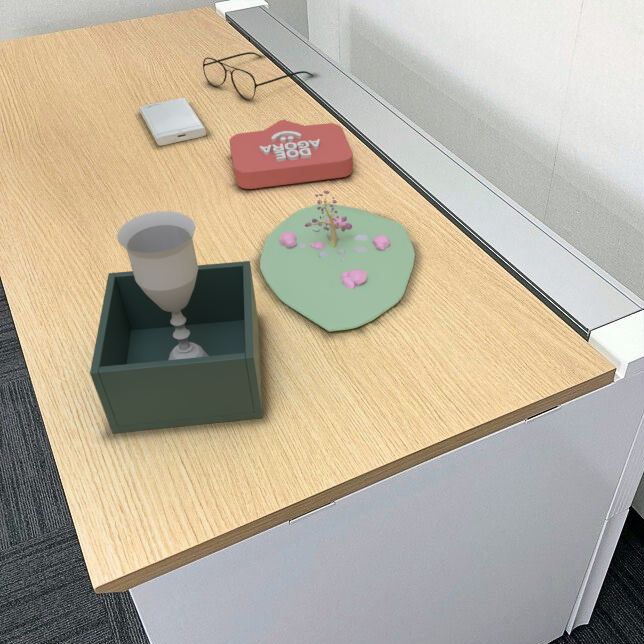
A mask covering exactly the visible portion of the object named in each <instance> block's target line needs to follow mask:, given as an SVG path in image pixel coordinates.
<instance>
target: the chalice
mask: <svg viewBox="0 0 644 644" xmlns="http://www.w3.org/2000/svg"><path fill="white" fill-rule="evenodd" d="M195 223H196V222H195V220H193V219H192V218H191V217H190V216H188V215H187V214H184V213H181V212H178V211H177V212H176V211H172V210H171V211H169V210H163V211H161V210H160V211H159V210H158V211H151V212H148V213H144V214H141V215H138V216H136V217H133V218H131V219H130V220H128V221H127V222H125V223H124V224H123V225H122V226H121V227H120V228H119V230H118V231H117V235H116V237H117V242H118V243H119V245H121V246H122V247H123V248H124V249H125V250H126V252H127V255H128V259H129V263H130V267H131V271H133V274H134V277H135V281H136V282H137V284H138V285H139V286H140V287H141V289H142V290H143V291H144V292H145V294H146V295H147V296H148V297H149V298H150V299H151V300H153V301H154V302H155V303H156V304H157V305H158V306H159V307H160V308H161V309H162V310H164V311H168V312H171V313H172V319H171V321H170V323H171V324H172V325H174V327H175V331H174V333H173V337H174V338H176V339H177V340H178V341H179V344H178V345H177V346H176V347H175V348H174V349H173V350H172V351H171V353H170V356H169V359H168V360H176V359H186V358H196V357H207V356H209V355H208V354H207V353H206V352H205V351H204V350H203V349H202V348H201V346H199V345H197V344H195V343H192V342H188V336H189V335H190V331H189V330H188V329H186V328H185V327H184V324H185V322H186V318H185V317H184V316H183V315H182V313H181V309H183V308H184V307H186V305H187V304H188V302H189V299H190V297H191V294H192V292H193V289H194V286H195V282H196V277H197V272H198V265H199V264H198V259H197V255H196V249H195V246H194V245H195V244H194V240H193V237H194V235H195V231H196V227H197V226H196V224H195Z"/></svg>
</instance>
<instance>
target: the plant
mask: <svg viewBox="0 0 644 644" xmlns="http://www.w3.org/2000/svg"><path fill="white" fill-rule="evenodd" d="M323 193H324V194H325V195H329V194H330V192H329V191H328V190H323ZM323 193H319V194H314V197H316V198H319V199H318V200H317V201H316V203H317V204H314V205H310V206H307V207H303V208H301V209H298V210H296V211H295V212H293V213H292V214H290V215H289V216H288V217H287V218H285V219H284V220H283V221H282V222H281V223H279V225H277V226H276V227H275V228H274V229H273V230H272V231H271V232H270V233H269V234H268V235H267V237H266V239H265V242H264V245H263V248H262V252H261V255H260V259H259V268H260V272H261V274H262V276H263V278H264V281H265V282H266V284H267V285H268V287H269V288H270V290H271V291H272V293H274V294H275V295H276V297H277V298H278V299H279V300H280V301H281V302H282V303H283V304H285V306H287V307H289V308H291V309H293V310H294V311H296V312H297V313H299V314H300V315H301V316H303V317H305V318H306V319H308V320H310V321H311V322H313V323H315V324H316V325H318V326H319V327H321V328H322V329H324V330H326V331H327V332H330V333H331V332H339V331H345V330H346V331H347V330H351V329H356V328H360V327H362V326H365V325H366V324H369V323H371V322H372V321H374V320H375V319H377V318H378V317H380V316H381V315H383V314H384V313H386V312H387V311H389V310H390V309H391V308H392V307H394V306H396V305H397V304H398V303H399V302H400V301H401V300H402V298H403V297H404V295H405V293H406V289H407V286H408V283H409V280H410V278H411V275H412V272H413V269H414V265H415V258H416V253H415V249H414V246H413V243H412V241H411V238H410V236H409V234H408V231H407V230H406V228H405V227H404V225H402V224H401V223H400V222H399V221H397V220H393V219H390V218H388V217H384V216H382V215H379V214H376V213H373V212H370V211H367V210H365V209H361V208H358V207H352V206H347V205H340V204H337V203H338V201H337V200H335V199H336V198H335V197H334V196H333V197H331V198H332V201H329V202H328V203H327V196H325V197H324V194H323ZM323 197H324V201H322V198H323Z"/></svg>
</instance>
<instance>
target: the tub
mask: <svg viewBox="0 0 644 644" xmlns="http://www.w3.org/2000/svg"><path fill="white" fill-rule="evenodd" d="M181 313H182V315H183V316H184V317H185V318H186V322H185V324H184V327H185V328H186V329H188V330H189V331H190V335H189V336H188V342H192V343H195V344H197V345H199V346H201V348H202V349H203V350H204V351H205V352H206V353H207V354H208V355H209V356H207V357H196V358H186V359H176V360H168V359H169V356H170V353H171V351H172V350H173V349H174V348H175V347H176V346H177V345H178V344H179V341H178V340H177V339H176V338H174V337H173V333H174V331H175V327H174V325H172V324H171V323H170V321H171V319H172V313H171V312H168V311H164V310H162V309H161V308H160V307H159V306H158V305H157V304H156V303H155V302H154V301H153V300H151V299H150V298H149V297H148V296H147V295H146V294H145V292H144V291H143V290H142V289H141V287H140V286H139V285H138V284H137V282H136V281H135V277H134V274H133V270H129V271H118V272H109V273H108V275H107V280H106V285H105V289H104V296H103V301H102V307H101V312H100V317H99V323H98V329H97V334H96V339H95V344H94V350H93V354H92V360H91V365H90V372H89V374H90V377H91V381H92V382H93V385H94V388H95V390H96V393H97V396H98V398H99V401H100V403H101V406H102V409H103V411H104V414H105V417H106V419H107V422H108V425H109V428H110V430H111V433H112V434H120V433H130V432H139V431H141V432H142V431H150V430H158V429H169V428H177V427H178V428H179V427H186V426H187V427H189V426H197V425H207V424H217V423H226V422H237V421H246V420H256V419H263V418H264V412H263V411H264V410H263V390H262V389H263V388H262V368H261V349H260V348H261V347H260V329H259V316H258V308H257V301H256V293H255V287H254V280H253V273H252V264H251V261H250V260H244V261H243V260H242V261H232V262H220V263H210V264H209V263H208V264H198V272H197V277H196V282H195V286H194V289H193V292H192V294H191V297H190V299H189V302H188V304H187V305H186V307H184V308H183V309H181Z"/></svg>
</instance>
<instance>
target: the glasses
mask: <svg viewBox="0 0 644 644" xmlns="http://www.w3.org/2000/svg"><path fill="white" fill-rule="evenodd" d="M245 55H254V56H256V57H260V58H262V55H260V54H258V53H256V52H254V51H248V52H242V53H238V54H233V55H231V56H227V57H224V58H220V59H216V58H213V57H205V58H204V59H203V61H202V69H203V74H204V77H205V79H206V81H207V82H208V84H209V85H210V86H212V87H215V88H217V87H220V86H222V85H224V84H225V82H226V80H227V76H228V75H227V74H228V72H229V73H230V79H231V80H230V81H231V83H232V86H233V88H234V89H235V91H236V93H237V94H238V95H239V96H240V97H241V98H242V99H244V100H245V101H251V100H252V99H254V97H255V95H256V91H257V88H258V87H260V86H263V85H267V84H270V83H273V82H276V81H279V80H282V79H286V78H289V77H291V76H295V75H300V74H306V75H309V76H312V77H314V74H313V73H311V72H308V71H306V70H301V71H296V72H292V73H288V74H285V75H282V76H279V77H276V78H273V79H269V80H267V81H264V82H260V83H257V82H256V79H255V77H254V75H253V74H252V73H251V72H249V71H248V70H244V69H242V68H241V69H240V68H238V67H234V66H231V65H228V64H226V63H224V62H223V61H227V60H230V59H233V58H238V57H241V56H242V57H243V56H245ZM207 59H208V60H212V61H210V62H206V60H207ZM205 62H206V63H205ZM217 63H218V64H219V65H220V66H221V67H222V68H223V71H224V79H223V81H222V82H221V83H220V84H219V85H215V84H213V83H212V82H210V80H209V79H208V77H207V75H206V70H205V67H207V66H209V65H213V64H217ZM226 67H228V68H231V69H233V70H230V69H226ZM236 71H240V72H243V73H245V74H247V75H248V76H250V77H251V79H252V81H253V85H254V87H253V89H254V90H253V95H252V97H251V98H246V97H244V95H243V94H241V92H240V91H239V89H238V88H237V86H236V83H235V80H234V75H233V74H234V72H236Z"/></svg>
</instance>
